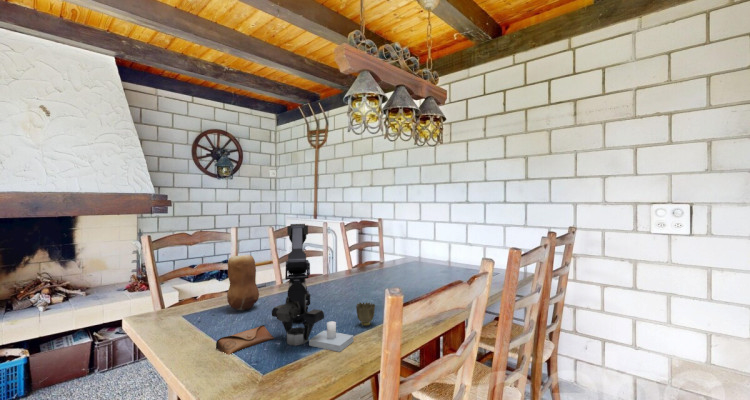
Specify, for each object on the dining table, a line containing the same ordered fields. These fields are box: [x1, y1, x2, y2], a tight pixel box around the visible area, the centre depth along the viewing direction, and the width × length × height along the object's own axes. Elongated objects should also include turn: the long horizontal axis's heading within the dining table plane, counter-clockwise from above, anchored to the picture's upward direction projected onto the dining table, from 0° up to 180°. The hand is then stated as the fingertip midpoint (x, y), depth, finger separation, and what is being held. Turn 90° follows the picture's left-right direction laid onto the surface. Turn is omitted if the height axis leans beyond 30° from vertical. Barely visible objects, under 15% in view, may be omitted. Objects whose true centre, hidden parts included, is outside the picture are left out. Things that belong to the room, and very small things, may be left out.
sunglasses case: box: [215, 324, 276, 356], centre depth 114 cm, size 18×7×7 cm
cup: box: [355, 301, 376, 327], centre depth 130 cm, size 8×7×8 cm
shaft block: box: [308, 320, 354, 353], centre depth 113 cm, size 12×9×7 cm
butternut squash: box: [226, 254, 260, 311], centre depth 151 cm, size 14×13×25 cm
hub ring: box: [286, 326, 309, 346], centre depth 115 cm, size 7×7×4 cm
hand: (297, 338), depth 115 cm, fingers open, 7 cm apart
